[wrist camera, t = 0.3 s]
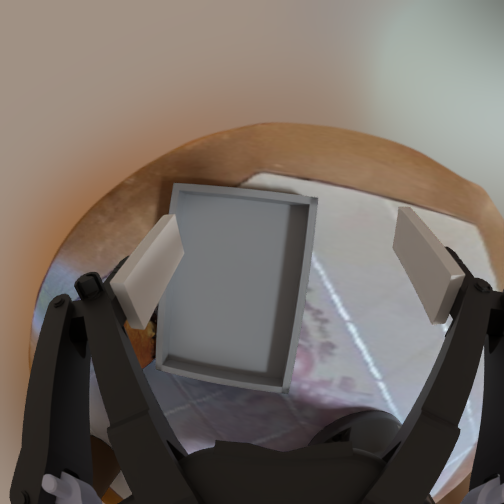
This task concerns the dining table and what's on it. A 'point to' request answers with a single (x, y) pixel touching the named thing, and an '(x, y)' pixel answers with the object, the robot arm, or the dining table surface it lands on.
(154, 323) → the bread roll
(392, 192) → the dining table surface
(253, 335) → the tray
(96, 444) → the olive oil
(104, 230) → the dining table surface
